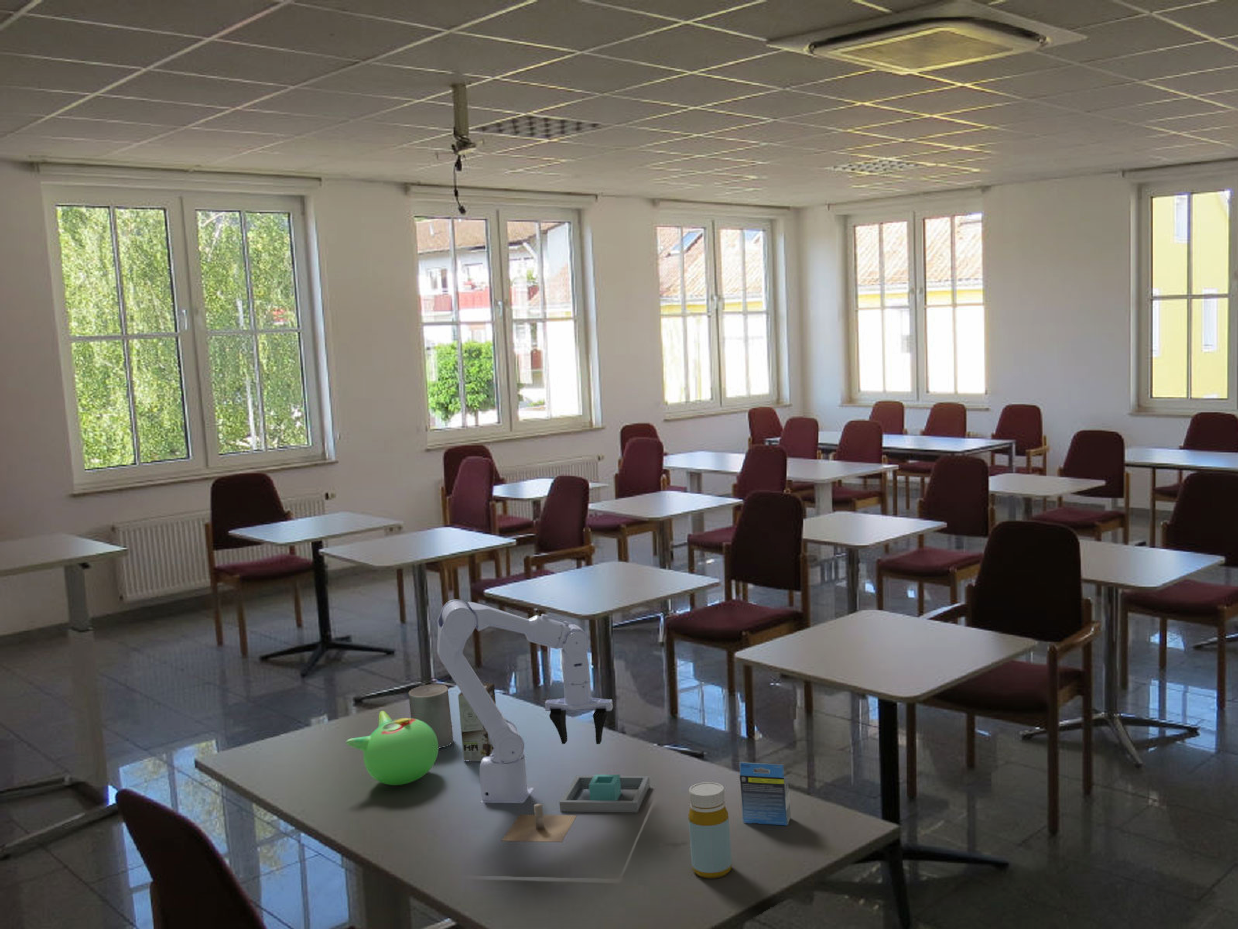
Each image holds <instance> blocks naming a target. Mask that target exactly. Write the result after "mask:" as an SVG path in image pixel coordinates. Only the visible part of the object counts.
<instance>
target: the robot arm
mask: <svg viewBox="0 0 1238 929" xmlns="http://www.w3.org/2000/svg"><path fill="white" fill-rule="evenodd" d="M540 615H541V616H540ZM540 615H537V614H536V615H534V616H532V617H530V618H527V617H526V618H525V617H522V616H520V615H516V614H514V613H510V612H507V611H504V610H501V609H498V608H495V607H492V606H488V605H486V604H485V605H484V604H481V603H477V602H474V601H473V602H472V601H467V603H466V602H465V601H464V600H461V599H451V600H449V601H447V602H446V603H445V604H444V605H442V608H441V611H440V613H439V615H438V618H437V642H436V643H437V647H436V654H437V655H438V658H439V660H440V661H441V663H442V664H443V666H444V667H445V669H446V671H447V672H448V674H449V676H451V678H452V680H453V682H454V683H455V684H456V686H457V688H458V689H459V691H460V693H461V692H462V694H463V695H464V697H465V698H466V700H467V701H468V703H469V704H470V706H471V707H472V709H473V711H474V712H475V714H476V715H477V717H478V718H479V720H480V721H481V723H482V724H483V726H484V728H485V729H486V731H487V733H488V738H489V741H490V743H491V744H492V746H493V748H494V749H493V751H492V753H491V755H490V756H489V757H484V758H483V759H482V761H480V764H479V781H480V782H479V783H480V793H481V795H480V796H481V801H480V803H485V804H486V803H489V804H490V803H493V804H495V803H498V804H499V803H504V804H505V803H506V804H512V803H513V804H523V803H525V802H526V800H527V799H528V798H529V796H530V795H531V793H532V792H533V790H534V787H528V780H527V768H526V756H525V752H524V750H525V742H524V739H523V737H522V736H521V735H520V734H519V731H518V729H517V727H516V725H515V724H514V723H513V722H512V721H510V720H508V719H507V718H505V716H504V715H503V713H502V712H501V711H500V708H498V706H497V703H496V704H495V703H494V701H493V700H492V698H491V697H490V695H489V694H488V692H487V691H486V689H485V687H484V686H483V684H484V683H482V681H481V680H480V678H479V677H478V675H477V674H476V672H475V671H474V669H473V667H472V666H471V664H470V663H469V661H468V660H467V658H466V656H465V655H464V652H463V651H464V649H465V646H466V643H467V641H468V639H469V638H470V636H471V635H472V634H473V632H474V630H475V629H476V630H477V631H478V632H480V631H483V630H484V629H486V628H489V627H494V628H496V629H497V628H498V629H502V630H506V631H510V632H514V633H520V634H522V635H523V634H524V636H525V637H526V639H527V641H528V642H529V643H534V644H537V645H541V646H544V647H548V648H551V649H554V650H558V649H561V668H562V669H561V671H562V680H563V693H564V697H563V698H556V699H546V701H545V702H544V707H545V708H544V710H545V712H550V713H549V715H548V716H549V720H551V722H552V723H553V726H554V727H555V729H556V731H557V732H558V736H559V738H560V742H561V744H562V745H565V744H566V743H567V742H568V732H567V711H594V712H593V713H592V718H593V719H592V720H593V723H594V729H595V744H596V745H600V744H601V743H602V740H603V738H602V737H603V731H604V727H605V726H604V725H605V724H606V723H605V722H606V719H607V716H608V713H609V712H611V711H612V710H613V708H614V706H613V699H608V698H607V699H606V698H597V697H592V689H591V688H592V687H591V676H590V663H589V658H588V650H589V648H590V647H591V640H590V639H589V636H588V634H587V633H586V632H585V630H583V629H582V627H580V626H579V625H578V624H575V623H573V622H569V621H566V620H564V621H563V622H561V621H558V620H555V619H552V618H549V616H548V614H544V613H542V614H540Z"/></svg>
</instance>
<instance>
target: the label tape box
mask: <svg viewBox="0 0 1238 929" xmlns="http://www.w3.org/2000/svg"><path fill="white" fill-rule="evenodd" d="M760 769H762V770H764V771H768V772H758V771H757V772H755V770H760ZM784 771H785V770H784V764H773V763H770V764H769V763H757V762H756V763H755V762H743V761H739V784H740V795H741V796H740V797H741V799H740V800H741V811H742V822H743V823H744V822H745V823H744V824H752V823H758V824H757V825H775V826H776V825H777V826H778V825H779V826H789V823H790V820H791V818H792V817H791V803H790V790H789V778H788V777H786V776H784V775H785V773H784Z"/></svg>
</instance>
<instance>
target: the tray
mask: <svg viewBox="0 0 1238 929" xmlns="http://www.w3.org/2000/svg"><path fill="white" fill-rule="evenodd" d="M593 777H594V775H576V776H575V777H574V779H573V780H572V782H571V783H570V785H569V786H568V788H567V789H566V791H565V793H564V794H563V796H562V797H561V799H560V800H559V812H575V813H577V812H578V813H579V812H587V813H588V812H590V813H591V812H593V813H596V812H597V813H638V812H639V809H640V808H641V805H642V803H643V800H644V799H645V796H646V794H647V793H648V791H649V790H650V789H651V782H650V775H620V784H621V789H631V790H632V789H637V791H636V793H635V794H634V797H633V800H617V801H599V800H590V799H588V800H587V799H586V800H585V799H584V800H583V799H582V800H581V799H578V800H577V799H576V800H575V799H574V798H575V796H576V795H577V793H578V790H580V789H589V783H590V782H591V780H592V778H593Z"/></svg>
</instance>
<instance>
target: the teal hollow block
mask: <svg viewBox="0 0 1238 929" xmlns="http://www.w3.org/2000/svg"><path fill="white" fill-rule="evenodd" d="M593 776H594V777H593V778H592V780H591V782H590V783H589V788H588V792H589V793H588V794H589V800H599V801H619V798H620V796H621V794H622V788H621V784H620V776H621V775H620V774H594V775H593Z"/></svg>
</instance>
